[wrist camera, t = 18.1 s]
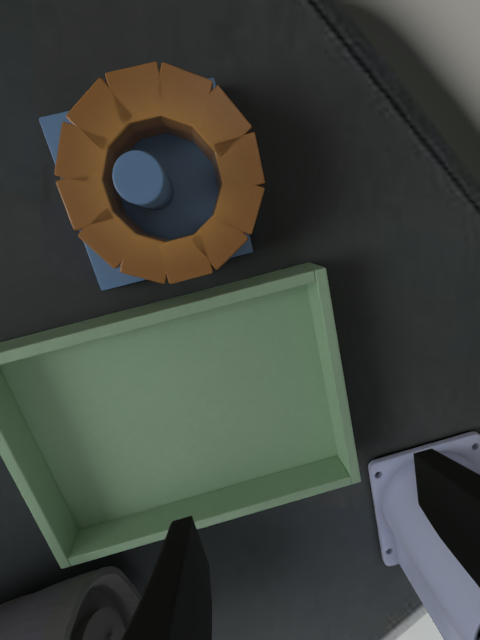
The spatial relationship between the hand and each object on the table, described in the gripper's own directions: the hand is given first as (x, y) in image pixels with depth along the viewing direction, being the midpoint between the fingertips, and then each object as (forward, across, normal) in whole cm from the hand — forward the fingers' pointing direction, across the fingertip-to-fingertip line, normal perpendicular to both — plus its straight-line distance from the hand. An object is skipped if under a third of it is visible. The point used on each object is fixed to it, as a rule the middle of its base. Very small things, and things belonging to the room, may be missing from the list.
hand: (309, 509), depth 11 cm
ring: (+9, +2, -11) cm, 15 cm away
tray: (+10, +5, +1) cm, 11 cm away
